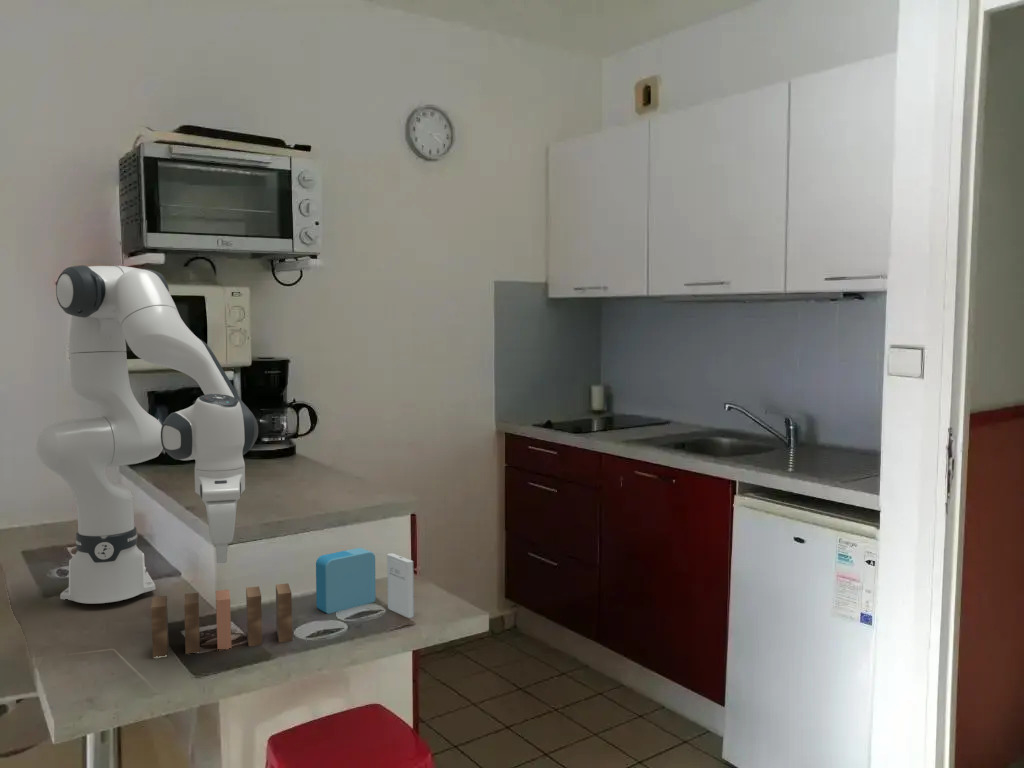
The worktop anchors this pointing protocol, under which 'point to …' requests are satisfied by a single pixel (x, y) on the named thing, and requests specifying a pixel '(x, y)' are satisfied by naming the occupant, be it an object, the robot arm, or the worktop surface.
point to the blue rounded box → (345, 580)
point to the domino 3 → (223, 619)
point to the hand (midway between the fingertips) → (221, 555)
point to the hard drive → (400, 585)
